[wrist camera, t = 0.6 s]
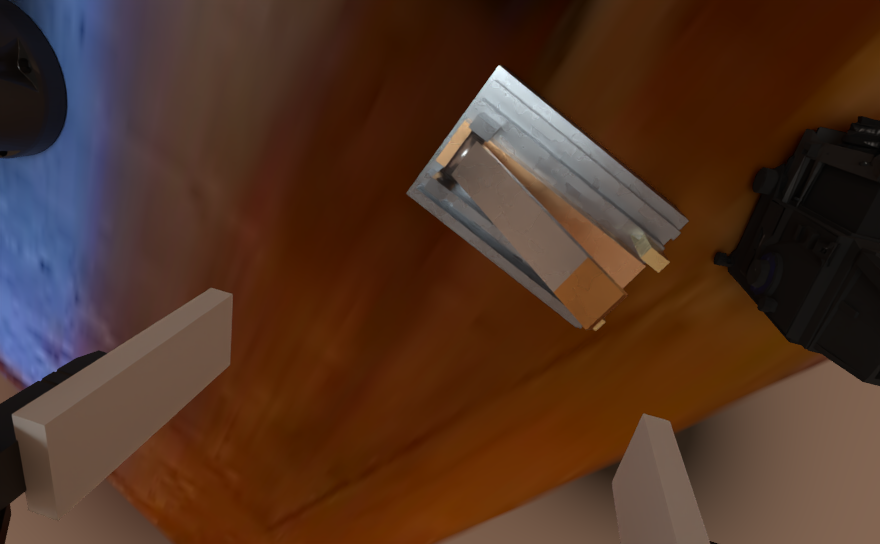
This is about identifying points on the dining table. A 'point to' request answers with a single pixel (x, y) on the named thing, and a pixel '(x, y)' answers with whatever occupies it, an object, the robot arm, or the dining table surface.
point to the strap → (535, 233)
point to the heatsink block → (551, 188)
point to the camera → (820, 247)
